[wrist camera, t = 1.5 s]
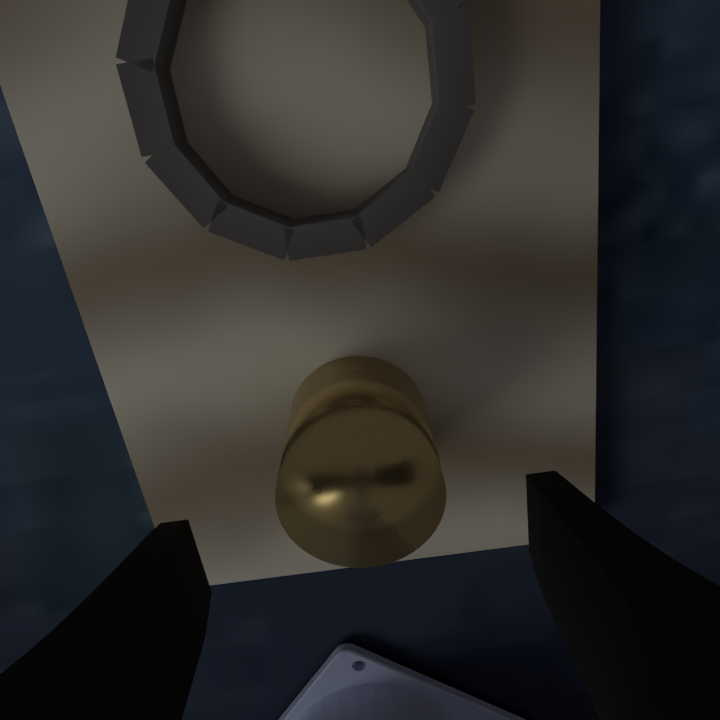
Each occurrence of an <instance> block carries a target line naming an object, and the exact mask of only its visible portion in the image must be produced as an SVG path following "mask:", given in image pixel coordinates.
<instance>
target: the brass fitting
mask: <svg viewBox="0 0 720 720" xmlns="http://www.w3.org/2000/svg"><path fill="white" fill-rule="evenodd" d="M275 506H276V512H277V515H278V518H279V521H280V523H281V525H282V527H283V529H284V530H285V532H286V533H287V535H288V536H289V537H290V538H291V539H292V540H293V542H294V543H295V544H296V545H298V546H299V547H300V548H301V549H302V550H304V551H305V552H307V553H308V554H310V555H311V556H313V557H315V558H317V559H319V560H322V561H324V562H327V563H330V564H334V565H338V566H343V567H351V568H366V567H376V566H381V565H385V564H389V563H392V562H395V561H397V560H400V559H402V558H404V557H406V556H408V555H410V554H411V553H413V552H414V551H416V550H417V549H418V548H420V547H421V546H422V545H423V544H424V543H425V542H426V541H427V540H428V539H429V538H430V537H431V536H432V535H433V533H434V532H435V530H436V529H437V527H438V526H439V524H440V521H441V519H442V517H443V514H444V510H445V506H446V485H445V480H444V476H443V472H442V469H441V465H440V461H439V457H438V453H437V450H436V446H435V442H434V438H433V434H432V431H431V427H430V423H429V419H428V415H427V411H426V408H425V404H424V400H423V398H422V395H421V393H420V391H419V389H418V387H417V385H416V384H415V383H414V381H413V380H412V379H411V378H410V377H409V376H408V375H407V374H406V373H405V372H404V371H402V370H401V369H400V368H398V367H397V366H395V365H393V364H391V363H389V362H387V361H384V360H381V359H378V358H373V357H367V356H351V357H344V358H339V359H336V360H333V361H330V362H328V363H326V364H324V365H322V366H320V367H319V368H317V369H316V370H314V371H313V372H312V373H311V374H310V375H308V376H307V378H306V379H305V380H304V381H303V382H302V384H301V385H300V387H299V388H298V390H297V392H296V394H295V396H294V399H293V402H292V406H291V411H290V416H289V421H288V426H287V431H286V437H285V442H284V447H283V452H282V457H281V462H280V468H279V473H278V478H277V483H276V489H275Z"/></svg>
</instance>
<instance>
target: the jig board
mask: <svg viewBox="0 0 720 720" xmlns="http://www.w3.org/2000/svg"><path fill="white" fill-rule="evenodd" d="M599 72H600V0H0V86H1V88H2V91H3V94H4V97H5V100H6V103H7V106H8V109H9V111H10V114H11V117H12V120H13V123H14V126H15V129H16V131H17V134H18V137H19V140H20V143H21V146H22V149H23V151H24V154H25V157H26V160H27V163H28V166H29V169H30V172H31V174H32V177H33V180H34V183H35V186H36V189H37V192H38V194H39V197H40V200H41V203H42V206H43V209H44V212H45V215H46V217H47V220H48V223H49V226H50V229H51V232H52V235H53V237H54V240H55V243H56V246H57V249H58V252H59V255H60V258H61V260H62V263H63V266H64V269H65V272H66V275H67V278H68V280H69V283H70V286H71V289H72V292H73V295H74V298H75V300H76V303H77V306H78V309H79V312H80V315H81V318H82V321H83V323H84V326H85V329H86V332H87V335H88V338H89V341H90V343H91V346H92V349H93V352H94V355H95V358H96V361H97V364H98V366H99V369H100V372H101V375H102V378H103V381H104V384H105V386H106V389H107V392H108V395H109V398H110V401H111V404H112V407H113V409H114V412H115V415H116V418H117V421H118V424H119V427H120V429H121V432H122V435H123V438H124V441H125V444H126V447H127V450H128V452H129V455H130V458H131V461H132V464H133V467H134V470H135V472H136V475H137V478H138V481H139V484H140V487H141V490H142V492H143V495H144V498H145V501H146V504H147V507H148V510H149V513H150V515H151V518H152V521H153V524H154V527H155V528H156V527H157V526H158V525H159V524H160V523H164V522H172V521H179V520H187V519H188V520H189V523H190V527H191V530H192V533H193V536H194V539H195V542H196V545H197V548H198V551H199V554H200V558H201V561H202V564H203V567H204V570H205V573H206V576H207V579H208V582H209V585H217V584H224V583H232V582H240V581H248V580H255V579H263V578H271V577H279V576H286V575H294V574H302V573H310V572H318V571H325V570H333V569H341V568H349V567H343V566H338V565H334V564H330V563H327V562H324V561H322V560H319V559H317V558H315V557H313V556H311V555H310V554H308V553H307V552H305V551H304V550H302V549H301V548H300V547H299V546H298V545H296V544H295V543H294V542H293V540H292V539H291V538H290V537H289V536H288V535H287V533H286V532H285V530H284V529H283V527H282V525H281V523H280V521H279V518H278V515H277V512H276V506H275V489H276V483H277V478H278V473H279V468H280V462H281V457H282V452H283V447H284V442H285V437H286V431H287V426H288V421H289V416H290V411H291V406H292V402H293V399H294V396H295V394H296V392H297V390H298V388H299V387H300V385H301V384H302V382H303V381H304V380H305V379H306V378H307V376H308V375H310V374H311V373H312V372H313V371H314V370H316V369H317V368H319V367H320V366H322V365H324V364H326V363H328V362H330V361H333V360H336V359H339V358H344V357H351V356H367V357H373V358H378V359H381V360H384V361H387V362H389V363H391V364H393V365H395V366H397V367H398V368H400V369H401V370H402V371H404V372H405V373H406V374H407V375H408V376H409V377H410V378H411V379H412V380H413V381H414V383H415V384H416V385H417V387H418V389H419V391H420V393H421V395H422V398H423V400H424V404H425V408H426V411H427V415H428V419H429V423H430V427H431V431H432V434H433V438H434V442H435V446H436V450H437V453H438V457H439V461H440V465H441V469H442V472H443V476H444V480H445V485H446V506H445V510H444V514H443V517H442V519H441V521H440V524H439V526H438V527H437V529H436V530H435V532H434V533H433V535H432V536H431V537H430V538H429V539H428V540H427V541H426V542H425V543H424V544H423V545H422V546H421V547H420V548H418V549H417V550H416V551H414V552H413V553H411V554H410V555H408V556H406V557H404V558H402V559H400V560H397V561H403V560H411V559H418V558H426V557H434V556H442V555H449V554H457V553H465V552H473V551H480V550H488V549H496V548H504V547H512V546H519V545H527V544H529V539H528V515H527V491H526V474H532V473H540V472H547V471H557V472H558V473H559V474H560V475H562V476H563V477H564V478H565V479H567V480H568V481H569V482H570V483H571V484H573V485H574V486H575V487H576V488H577V489H579V490H580V491H581V492H582V493H584V494H585V495H586V496H587V497H588V498H590V499H591V500H592V501H593V502H595V439H596V347H597V256H598V164H599Z"/></svg>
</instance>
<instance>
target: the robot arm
mask: <svg viewBox="0 0 720 720" xmlns="http://www.w3.org/2000/svg"><path fill="white" fill-rule="evenodd" d="M526 491H527V515H528V539H529V553H530V556H531V559H532V563H533V566H534V569H535V572H536V575H537V578H538V581H539V584H540V587H541V590H542V593H543V596H544V598H545V601H546V603H547V605H548V607H549V610H550V612H551V614H552V616H553V618H554V621H555V623H556V625H557V627H558V629H559V631H560V634H561V636H562V638H563V640H564V642H565V644H566V647H567V649H568V651H569V653H570V655H571V657H572V659H573V662H574V664H575V666H576V668H577V670H578V672H579V675H580V677H581V679H582V681H583V683H584V685H585V687H586V690H587V692H588V694H589V696H590V698H591V701H592V703H593V705H594V708H595V710H596V713H597V715H598V717H599V720H720V586H718V585H717V584H715V583H713V582H711V581H710V580H708V579H706V578H704V577H703V576H701V575H699V574H697V573H696V572H694V571H692V570H690V569H688V568H687V567H685V566H684V565H682V564H680V563H679V562H677V561H675V560H674V559H672V558H671V557H669V556H668V555H666V554H665V553H663V552H662V551H660V550H659V549H657V548H656V547H654V546H653V545H651V544H650V543H648V542H647V541H645V540H644V539H642V538H641V537H639V536H638V535H637V534H635V533H634V532H633V531H631V530H630V529H629V528H627V527H626V526H625V525H623V524H622V523H620V522H619V521H618V520H616V519H615V518H614V517H612V516H611V515H610V514H609V513H607V512H606V511H605V510H603V509H602V508H601V507H600V506H598V505H597V504H596V503H595V502H593V501H592V500H591V499H590V498H588V497H587V496H586V495H585V494H584V493H582V492H581V491H580V490H579V489H577V488H576V487H575V486H574V485H573V484H571V483H570V482H569V481H568V480H567V479H565V478H564V477H563V476H562V475H560V474H559V473H558V472H557V471H547V472H540V473H532V474H526ZM211 593H212V592H211V589H210V585H209V582H208V579H207V576H206V573H205V570H204V567H203V564H202V561H201V558H200V554H199V551H198V548H197V545H196V542H195V539H194V536H193V533H192V530H191V527H190V523H189V520H188V519H187V520H179V521H172V522H164V523H160V524H159V525H158V526H157V527H156V528H155V529H154V530H153V531H152V532H151V533H150V534H149V535H148V536H147V537H146V538H145V539H144V540H143V541H142V542H141V543H140V544H139V545H138V546H137V547H136V548H135V549H134V550H133V551H132V552H131V553H130V554H129V555H128V556H127V557H126V558H125V560H124V561H123V562H122V563H121V564H120V565H119V566H118V567H117V568H116V569H115V570H114V571H113V572H112V573H111V574H110V575H109V576H108V577H107V578H106V579H105V580H104V581H103V582H102V583H101V584H100V585H99V586H98V587H97V588H96V589H95V590H94V591H93V592H92V593H91V594H90V595H89V596H88V597H87V598H86V599H85V600H84V601H83V602H82V603H81V604H80V605H79V606H78V607H77V608H76V609H75V610H73V611H72V612H71V613H70V614H69V615H68V616H67V617H66V618H65V619H64V620H63V621H62V622H61V623H60V624H59V625H58V626H57V627H56V628H54V629H53V630H52V631H51V632H50V633H49V634H48V635H47V636H46V637H45V638H43V639H42V640H41V641H40V642H39V643H38V644H36V645H35V646H34V647H33V648H32V649H31V650H29V651H28V652H27V653H26V654H25V655H23V656H22V657H21V658H20V659H19V660H17V661H16V662H15V663H14V664H12V665H11V666H10V667H9V668H8V669H6V670H5V671H4V672H3V673H1V674H0V720H181V719H182V716H183V712H184V709H185V706H186V702H187V699H188V695H189V692H190V688H191V685H192V682H193V678H194V675H195V671H196V668H197V664H198V660H199V657H200V653H201V650H202V646H203V642H204V639H205V633H206V627H207V621H208V615H209V607H210V600H211ZM356 661H362V662H356ZM278 720H526V719H524V718H521V717H519V716H517V715H514V714H512V713H510V712H508V711H505V710H503V709H501V708H498V707H496V706H494V705H491V704H489V703H487V702H485V701H482V700H480V699H478V698H475V697H473V696H471V695H469V694H466V693H464V692H462V691H459V690H457V689H455V688H452V687H450V686H448V685H446V684H443V683H441V682H439V681H436V680H434V679H432V678H430V677H427V676H425V675H423V674H420V673H418V672H416V671H414V670H411V669H409V668H407V667H404V666H402V665H400V664H397V663H395V662H393V661H391V660H388V659H386V658H384V657H381V656H379V655H377V654H375V653H372V652H370V651H368V650H365V649H363V648H361V647H358V646H356V645H354V644H350V643H346V644H342V645H339V646H338V647H337V648H336V649H335V650H334V651H333V653H332V654H331V655H330V656H329V658H328V659H327V660H326V661H325V663H324V664H323V665H322V666H321V668H320V669H319V670H318V671H317V672H316V674H315V675H314V676H313V677H312V679H311V680H310V681H309V682H308V684H307V685H306V686H305V687H304V688H303V690H302V691H301V692H300V693H299V695H298V696H297V697H296V698H295V700H294V701H293V702H292V703H291V705H290V706H289V707H288V708H287V709H286V711H285V712H284V713H283V714H282V716H281V717H280V718H279V719H278Z"/></svg>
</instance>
